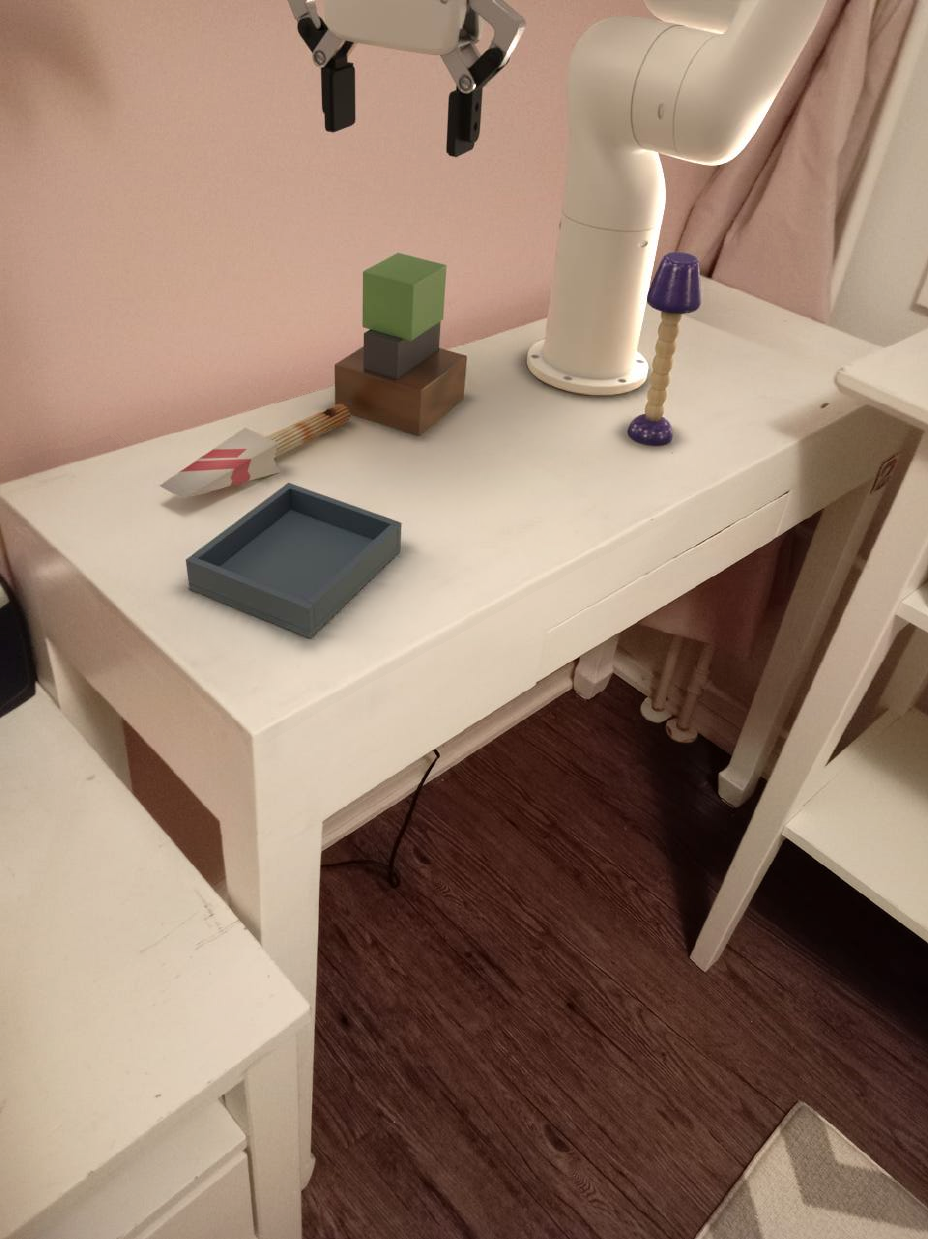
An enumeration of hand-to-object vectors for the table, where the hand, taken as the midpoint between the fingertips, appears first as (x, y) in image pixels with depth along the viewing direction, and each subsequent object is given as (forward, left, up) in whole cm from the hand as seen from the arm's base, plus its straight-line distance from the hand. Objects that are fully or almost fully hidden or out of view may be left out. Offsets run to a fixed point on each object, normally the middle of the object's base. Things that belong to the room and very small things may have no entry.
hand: (399, 140), depth 69 cm
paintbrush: (+7, -8, -26) cm, 28 cm away
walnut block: (-9, -4, -26) cm, 27 cm away
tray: (+18, +3, -26) cm, 31 cm away
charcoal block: (-9, -4, -21) cm, 23 cm away
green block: (-9, -4, -18) cm, 20 cm away
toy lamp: (-17, +18, -26) cm, 36 cm away
